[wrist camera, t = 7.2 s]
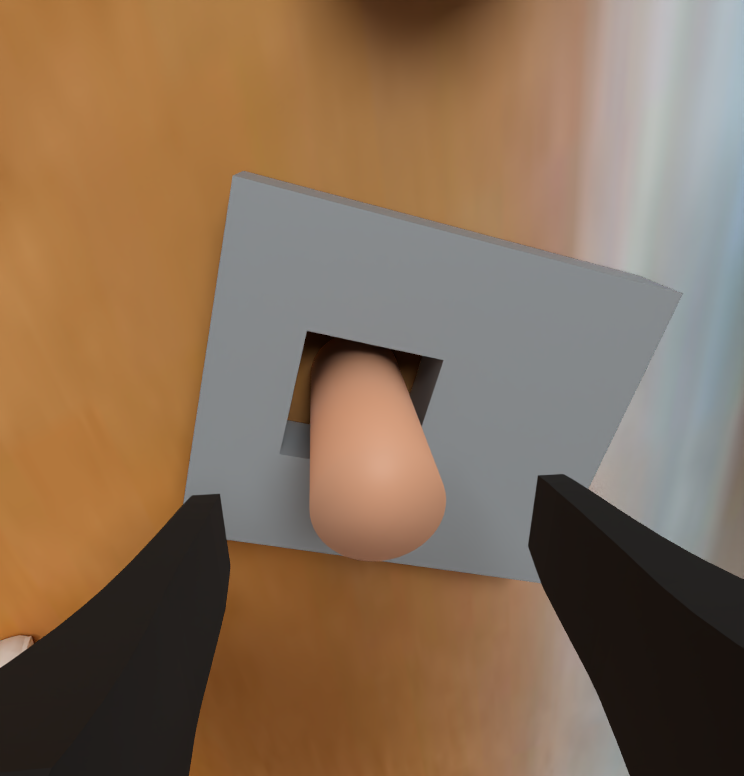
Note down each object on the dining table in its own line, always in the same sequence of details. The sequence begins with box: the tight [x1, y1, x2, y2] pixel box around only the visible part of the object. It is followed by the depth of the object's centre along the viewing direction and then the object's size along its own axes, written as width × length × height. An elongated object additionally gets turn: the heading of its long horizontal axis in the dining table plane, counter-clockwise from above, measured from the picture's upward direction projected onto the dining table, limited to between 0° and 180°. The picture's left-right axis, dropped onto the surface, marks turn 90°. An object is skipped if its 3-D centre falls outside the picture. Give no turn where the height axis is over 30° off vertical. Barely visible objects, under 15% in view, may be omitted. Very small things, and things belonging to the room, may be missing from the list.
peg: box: [309, 337, 446, 561], centre depth 16 cm, size 3×3×8 cm
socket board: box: [183, 171, 682, 583], centre depth 19 cm, size 14×12×2 cm
